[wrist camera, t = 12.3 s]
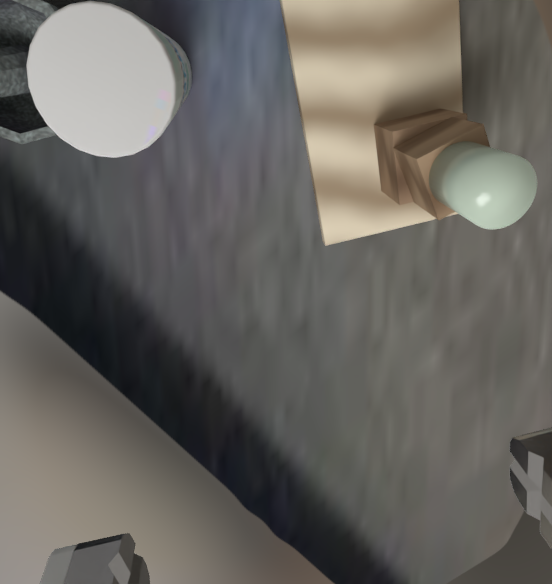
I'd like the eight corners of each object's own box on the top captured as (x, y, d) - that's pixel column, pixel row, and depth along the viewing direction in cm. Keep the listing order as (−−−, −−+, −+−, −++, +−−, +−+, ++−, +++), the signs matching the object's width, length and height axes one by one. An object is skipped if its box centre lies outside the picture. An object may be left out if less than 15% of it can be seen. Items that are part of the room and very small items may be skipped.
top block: (393, 148, 38) (416, 159, 34) (451, 116, 38) (483, 124, 33) (413, 202, 40) (438, 220, 36) (469, 173, 40) (501, 187, 35)
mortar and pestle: (79, -16, 36) (21, -50, 26) (125, 112, 41) (92, 129, 30) (-65, 22, 36) (-183, 5, 26) (-4, 146, 41) (-84, 176, 30)
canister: (426, 149, 33) (462, 164, 28) (490, 134, 33) (538, 146, 28) (430, 212, 35) (465, 236, 30) (491, 197, 35) (536, 219, 30)
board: (276, -17, 38) (278, -20, 37) (449, -58, 38) (456, -62, 37) (323, 241, 47) (325, 245, 46) (460, 208, 48) (466, 211, 46)
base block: (373, 124, 42) (392, 131, 38) (440, 108, 42) (467, 113, 38) (381, 190, 45) (399, 205, 40) (444, 175, 45) (469, 188, 40)
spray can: (106, 29, 38) (7, 0, 20) (189, 28, 38) (167, -1, 20) (119, 117, 41) (43, 161, 23) (197, 115, 41) (183, 156, 23)
